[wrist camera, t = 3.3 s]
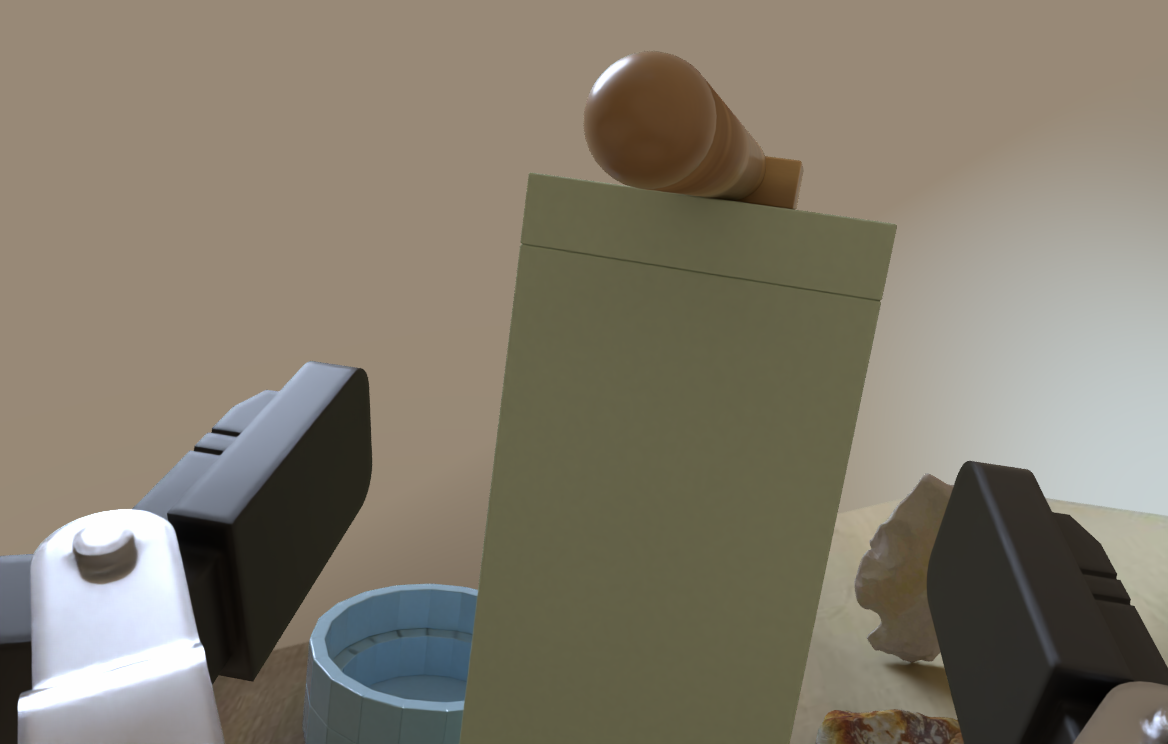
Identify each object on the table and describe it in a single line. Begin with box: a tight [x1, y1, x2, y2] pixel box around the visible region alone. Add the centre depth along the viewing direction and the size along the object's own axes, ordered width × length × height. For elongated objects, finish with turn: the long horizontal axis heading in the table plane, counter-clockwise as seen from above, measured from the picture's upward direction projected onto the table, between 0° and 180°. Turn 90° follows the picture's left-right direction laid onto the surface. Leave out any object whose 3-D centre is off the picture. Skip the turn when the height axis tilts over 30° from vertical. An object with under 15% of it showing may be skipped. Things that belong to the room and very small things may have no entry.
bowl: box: [303, 584, 478, 744], centre depth 51 cm, size 14×14×6 cm
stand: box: [459, 173, 897, 744], centre depth 33 cm, size 10×12×32 cm
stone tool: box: [855, 474, 954, 662], centre depth 67 cm, size 11×4×15 cm, turn 90°
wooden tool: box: [584, 51, 803, 210], centre depth 25 cm, size 23×4×2 cm, turn 166°
